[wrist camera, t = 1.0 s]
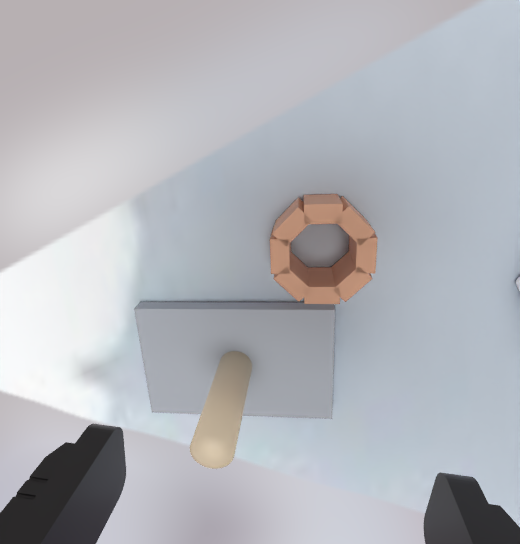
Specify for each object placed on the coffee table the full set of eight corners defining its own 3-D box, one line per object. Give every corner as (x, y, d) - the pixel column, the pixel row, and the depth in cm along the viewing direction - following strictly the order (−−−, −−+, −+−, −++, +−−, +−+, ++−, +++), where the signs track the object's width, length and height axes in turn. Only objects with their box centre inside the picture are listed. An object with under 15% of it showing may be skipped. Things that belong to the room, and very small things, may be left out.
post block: (333, 302, 27) (349, 384, 18) (330, 407, 30) (343, 520, 21) (140, 301, 28) (70, 376, 20) (157, 402, 31) (102, 505, 23)
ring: (368, 193, 24) (379, 202, 21) (363, 282, 26) (373, 304, 23) (272, 195, 24) (268, 205, 21) (275, 282, 27) (272, 304, 23)
